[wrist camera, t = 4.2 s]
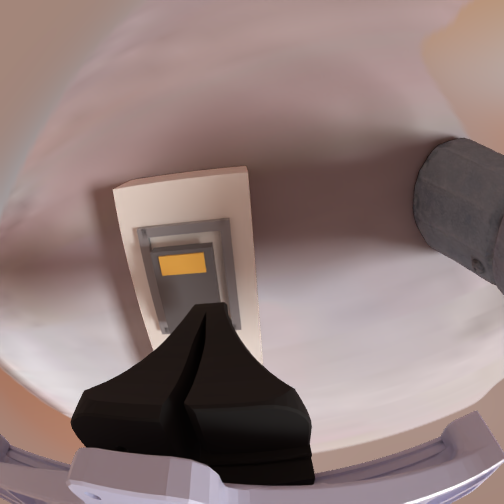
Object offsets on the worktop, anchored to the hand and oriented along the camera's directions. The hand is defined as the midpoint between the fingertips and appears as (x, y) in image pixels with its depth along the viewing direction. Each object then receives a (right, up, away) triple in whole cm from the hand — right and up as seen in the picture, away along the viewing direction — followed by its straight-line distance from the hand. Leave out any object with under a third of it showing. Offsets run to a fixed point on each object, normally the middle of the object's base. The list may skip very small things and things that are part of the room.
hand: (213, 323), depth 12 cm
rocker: (-2, +1, +3) cm, 3 cm away
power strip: (-2, -2, +9) cm, 9 cm away
